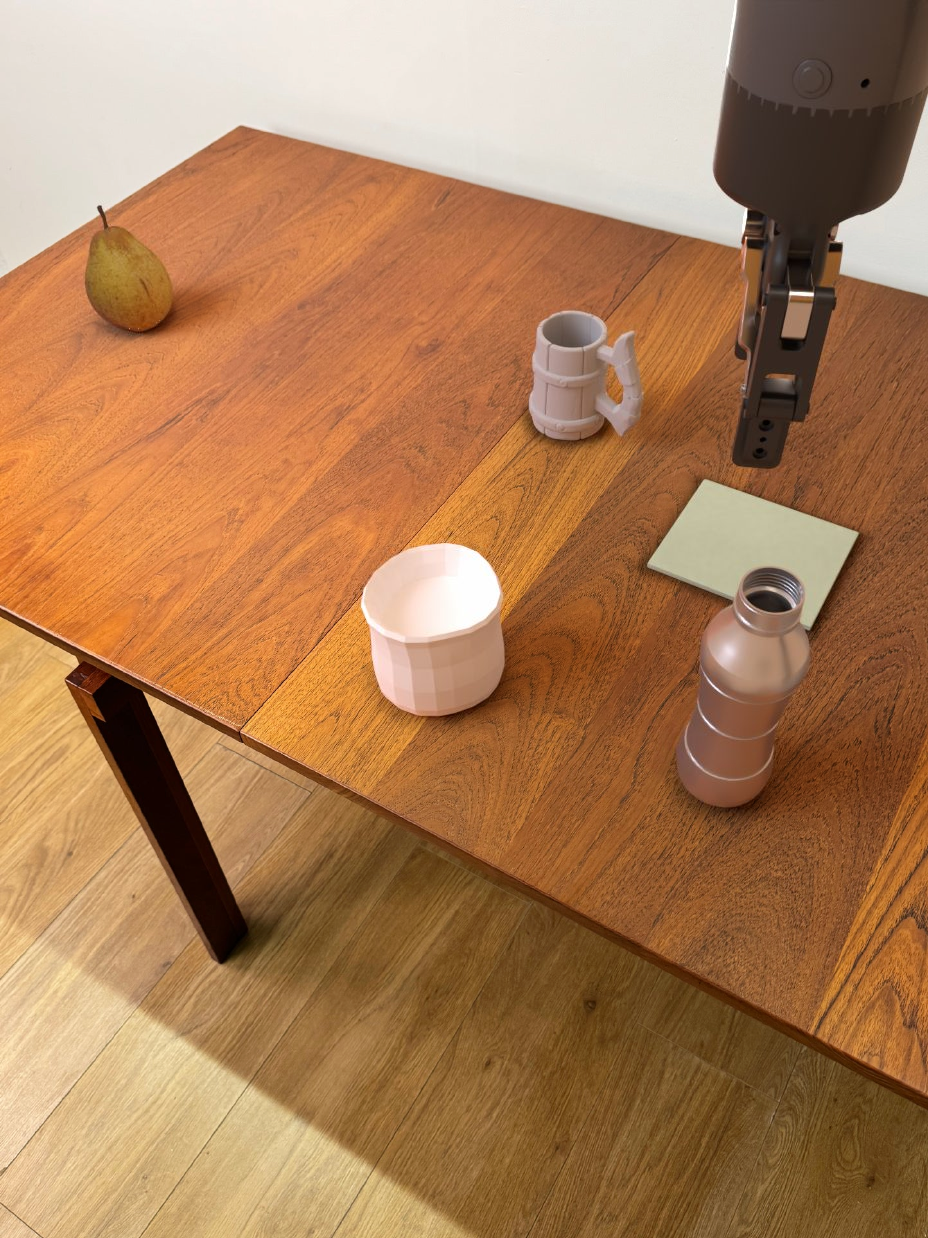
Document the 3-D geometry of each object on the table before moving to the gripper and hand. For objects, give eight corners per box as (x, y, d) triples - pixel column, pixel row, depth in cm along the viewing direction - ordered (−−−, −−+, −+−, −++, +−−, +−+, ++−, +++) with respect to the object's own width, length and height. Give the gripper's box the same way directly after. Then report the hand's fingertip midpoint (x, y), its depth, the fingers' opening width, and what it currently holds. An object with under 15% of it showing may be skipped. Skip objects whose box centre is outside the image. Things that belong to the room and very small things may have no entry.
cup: (529, 665, 78) (530, 581, 70) (442, 748, 73) (433, 667, 65) (439, 606, 82) (431, 520, 74) (352, 681, 77) (334, 598, 70)
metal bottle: (779, 760, 71) (849, 570, 56) (745, 835, 67) (810, 653, 52) (693, 724, 73) (738, 531, 58) (656, 795, 70) (694, 609, 54)
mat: (857, 536, 85) (859, 532, 84) (809, 631, 78) (811, 627, 78) (703, 482, 90) (704, 478, 90) (646, 567, 84) (647, 563, 83)
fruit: (165, 343, 108) (132, 239, 99) (86, 338, 109) (46, 235, 100) (191, 298, 113) (162, 196, 104) (116, 294, 115) (81, 193, 105)
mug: (560, 383, 100) (564, 275, 91) (659, 430, 95) (674, 320, 86) (512, 421, 97) (511, 313, 88) (612, 472, 91) (622, 362, 82)
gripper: (960, 148, 32) (840, 512, 45) (916, -10, 41) (826, 330, 54) (723, 140, 33) (670, 497, 46) (730, -12, 42) (684, 321, 55)
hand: (754, 406), depth 50 cm, fingers open, 8 cm apart
